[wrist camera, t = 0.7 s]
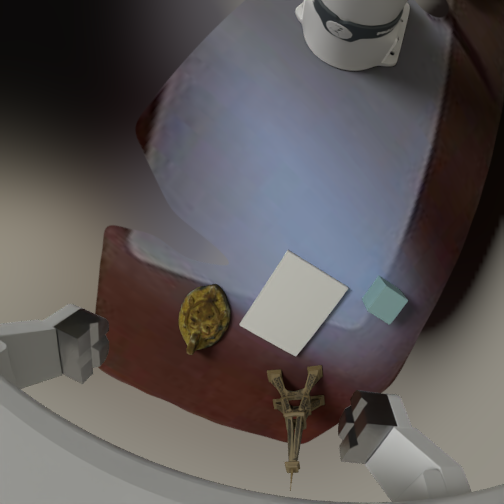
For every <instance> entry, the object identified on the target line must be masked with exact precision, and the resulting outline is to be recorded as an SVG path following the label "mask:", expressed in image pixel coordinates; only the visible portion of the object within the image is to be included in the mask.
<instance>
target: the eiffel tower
mask: <svg viewBox="0 0 504 504" xmlns="http://www.w3.org/2000/svg"><path fill="white" fill-rule="evenodd" d="M307 369H308V378H307V381H306V385H305V388H303V389H301V390H298V391H289V390H286V389H285V387H284V384H283V378H282V372H281V369H280V370H267V374H268V379H269V382H271V383H272V384H273V385H274V386H275V387H276V388H277V389H278V391H279V393H280V395H281V398H280V399H273V404H274V409H278V410H279V411H281V412H282V413H283V416H284V417H285V421H286V427H287V431H288V456H289V462H285V466H286V470H287V473H291V483H292V475H293V473H296V472H298V470H299V469H300V465H299V461H297V460H298V455H299V449H300V443H301V437H302V431H303V429H306V419H307V417H308V415H311V411H313V410H315V409H316V408H318V407H320V406H321V405H325V403H324V395H318V396H311V400H310V391H311V389H312V387H313V386H314V385H315V384H316V383H317V381H318V380H319V378H320V377H323V376H322V365H320V366H311V367H307ZM298 399H302V400H301V403H300V406H291V405H289V402H288V401H289V400H298ZM292 416H297V419H293V418H292ZM294 429H295V436H294ZM290 489H291V488H290Z"/></svg>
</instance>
